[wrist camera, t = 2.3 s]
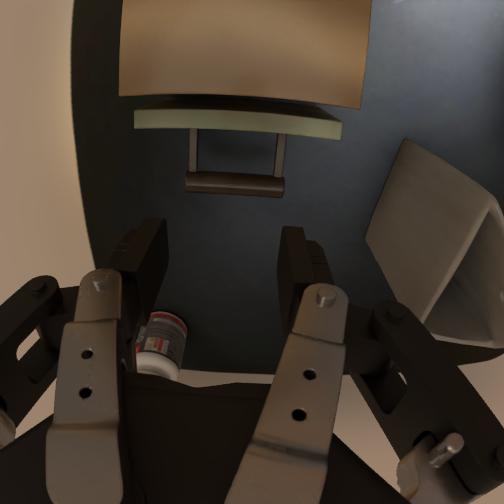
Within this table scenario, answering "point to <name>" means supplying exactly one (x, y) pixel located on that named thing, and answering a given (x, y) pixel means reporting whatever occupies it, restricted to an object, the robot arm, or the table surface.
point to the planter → (441, 248)
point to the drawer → (238, 118)
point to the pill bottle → (161, 345)
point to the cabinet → (246, 48)
